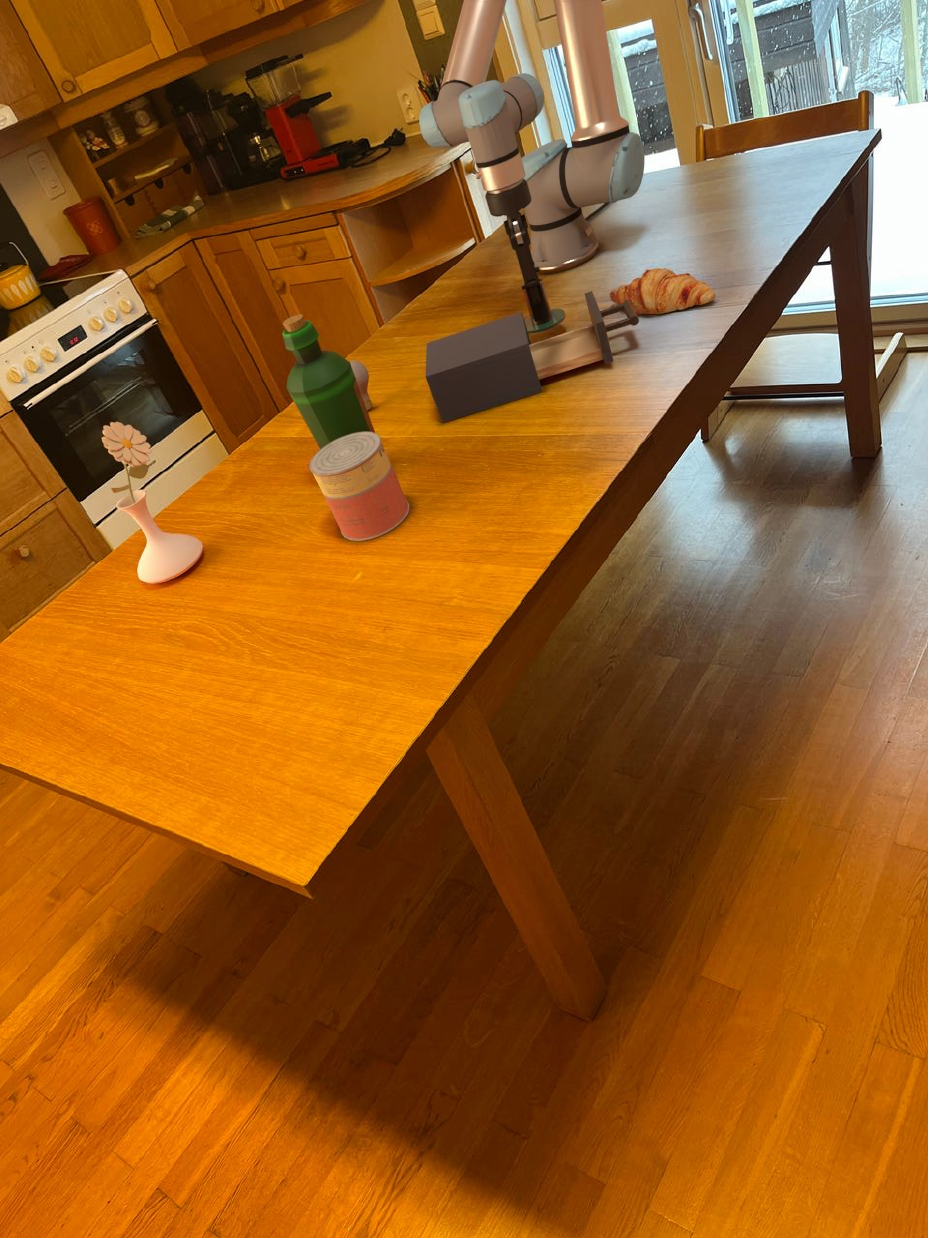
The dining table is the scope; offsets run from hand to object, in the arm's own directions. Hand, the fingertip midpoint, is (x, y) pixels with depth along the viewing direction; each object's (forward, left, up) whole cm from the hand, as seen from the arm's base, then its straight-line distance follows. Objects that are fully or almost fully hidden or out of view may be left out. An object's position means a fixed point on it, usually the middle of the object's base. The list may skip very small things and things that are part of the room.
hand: (540, 314), depth 168 cm
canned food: (+48, -32, -5) cm, 58 cm away
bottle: (+33, -35, -5) cm, 48 cm away
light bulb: (+7, -36, -5) cm, 37 cm away
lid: (0, 0, -2) cm, 2 cm away
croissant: (+3, +22, -5) cm, 22 cm away
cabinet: (+15, -12, -5) cm, 20 cm away
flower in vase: (+44, -67, -5) cm, 80 cm away
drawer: (+15, +4, -3) cm, 16 cm away
